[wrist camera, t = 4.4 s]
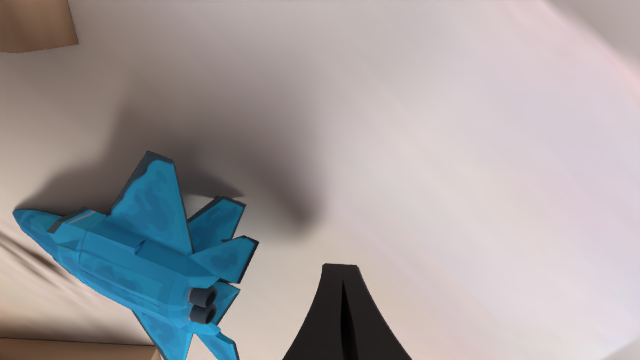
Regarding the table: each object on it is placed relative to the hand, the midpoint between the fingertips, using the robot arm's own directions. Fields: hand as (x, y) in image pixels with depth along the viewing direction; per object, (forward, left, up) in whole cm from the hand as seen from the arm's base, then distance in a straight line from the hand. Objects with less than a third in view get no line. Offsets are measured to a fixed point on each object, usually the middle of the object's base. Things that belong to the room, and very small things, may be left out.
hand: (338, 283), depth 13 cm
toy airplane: (+1, +8, -3) cm, 8 cm away
